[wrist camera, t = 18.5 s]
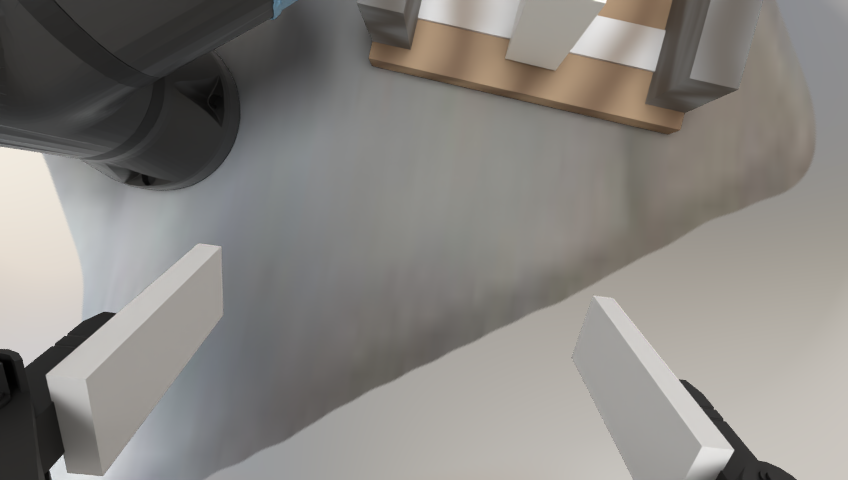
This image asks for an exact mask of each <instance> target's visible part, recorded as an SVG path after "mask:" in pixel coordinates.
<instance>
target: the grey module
mask: <svg viewBox="0 0 848 480" xmlns="http://www.w3.org/2000/svg"><path fill="white" fill-rule="evenodd" d="M606 1H607V0H520V3H519V6H518V10H517V14H516V18H515V22H514V26H513V29H512V33H511V37H510V41H509V45H508V48H507V52H506V56H505V59H509V60H513V61H517V62H521V63H526V64H530V65H534V66H538V67H542V68H546V69H550V70H554V71H556V69H557V68H558V67H559V65H560V64H561V63H562V61H563V60H564V59H565V57H566V56H567V55H568V53H569V52H570V51H571V49H572V48H573V47H574V45H575V44H576V43H577V41H578V40H579V39H580V37H581V36H582V35H583V33H584V32H585V31H586V29H587V28H588V27H589V25H590V24H591V23H592V21H593V20H594V19H595V17H596V16H597V15H598V13H599V12H600V11H601V9H602V8H603V7H604V5H605V4H606Z"/></svg>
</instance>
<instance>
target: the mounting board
mask: <svg viewBox="0 0 848 480" xmlns="http://www.w3.org/2000/svg"><path fill="white" fill-rule="evenodd" d="M519 3H520V0H357V4H358V7H359V9H360V12H361V14H362V17H363V19H364V22H365V24H366V27H367V29H368V32H369V34H370V36H371V39H372V45H371V50H370V54H369V60H370V62H371V64H372V66H375V67H379V68H384V69H388V70H392V71H397V72H401V73H405V74H410V75H414V76H418V77H423V78H427V79H431V80H436V81H440V82H444V83H449V84H453V85H457V86H462V87H466V88H470V89H475V90H479V91H483V92H488V93H492V94H496V95H501V96H505V97H509V98H514V99H518V100H522V101H527V102H531V103H535V104H539V105H544V106H548V107H552V108H557V109H561V110H565V111H570V112H574V113H578V114H583V115H587V116H591V117H596V118H600V119H604V120H609V121H613V122H617V123H622V124H626V125H630V126H635V127H639V128H643V129H648V130H652V131H656V132H661V133H665V134H671V133H673V132H676V131H679V130H680V129H681V125H682V121H683V118H684V114H685V113H686V112H688V111H690V110H693V109H695V108H697V107H699V106H702V105H704V104H706V103H708V102H711V101H713V100H715V99H718V98H720V97H722V96H724V95H727V94H729V93H731V92H734V91H736V90H738V89H739V86H740V82H741V79H742V75H743V72H744V68H745V64H746V61H747V57H748V54H749V50H750V46H751V43H752V39H753V36H754V32H755V28H756V25H757V21H758V18H759V14H760V11H761V7H762V3H763V0H607V1H606V4H605V5H604V7H603V8H602V9H601V11H600V12H599V13H598V15H597V16H596V17H595V19H594V20H593V21H592V23H591V24H590V25H589V27H588V28H587V29H586V31H585V32H584V33H583V35H582V36H581V37H580V39H579V40H578V41H577V43H576V44H575V45H574V47H573V48H572V49H571V51H570V52H569V53H568V55H567V56H566V57H565V59H564V60H563V61H562V63H561V64H560V65H559V67H558V68H557V69H556V71H554V70H550V69H546V68H542V67H538V66H534V65H530V64H526V63H521V62H517V61H513V60H509V59H505V56H506V52H507V48H508V45H509V41H510V37H511V33H512V29H513V26H514V22H515V18H516V14H517V10H518V6H519Z"/></svg>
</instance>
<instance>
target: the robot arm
mask: <svg viewBox="0 0 848 480" xmlns="http://www.w3.org/2000/svg"><path fill="white" fill-rule="evenodd" d="M296 1H297V0H0V146H1V147H8V148H14V149H21V150H28V151H34V152H40V153H46V154H52V155H59V156H65V157H72V158H78V159H80V160H82V161H84V162H85V163H87V164H89V165H90V166H92V167H94V168H95V169H97V170H99V171H100V172H102V173H104V174H105V175H107V176H109V177H110V178H112V179H114V180H116V181H118V182H121V183H124V184H126V185H130V186H133V187H138V188H145V189H154V190H174V189H180V188H184V187H187V186H190V185H193V184H195V183H197V182H199V181H201V180H203V179H204V178H206V177H207V176H208V175H210V174H211V173H212V172H213V171H214V170H216V169H217V168H218V166H219V165H220V164H221V163H222V162H223V161H224V159H225V158H226V156H227V155H228V153H229V151H230V150H231V148H232V145H233V143H234V141H235V138H236V135H237V131H238V126H239V118H240V105H239V97H238V92H237V89H236V85H235V83H234V80H233V78H232V75H231V74H230V72H229V70H228V68H227V67H226V65H225V64H224V62H223V61H222V60H221V58H220V57H219V56H218V55H217V54H216V53H215V52H214V51H213V50H214V49H216V48H217V47H219V46H221V45H223V44H225V43H226V42H228V41H230V40H232V39H234V38H235V37H237V36H239V35H241V34H243V33H244V32H246V31H248V30H250V29H252V28H253V27H255V26H257V25H259V24H261V23H262V22H264V21H266V20H268V19H270V20H274V19H276V18H277V16H279V15H280V14H281V11H282V10H283V9H285V8H286V7H288V6H290V5H291V4H293V3H294V2H296ZM222 316H223V286H222V248H221V246H215V245H207V244H200V243H198V244H197V245H196V246H195V247H193V248H192V249H191V250H190V251H189V252H188V253H187V254H185V255H184V256H183V257H182V258H181V259H180V260H178V261H177V262H176V263H175V264H174V265H173V266H171V267H170V268H169V269H168V270H167V271H166V272H164V273H163V274H162V275H161V276H160V277H159V278H158V279H156V280H155V281H154V282H153V283H152V284H151V285H149V286H148V287H147V288H146V289H145V290H144V291H142V292H141V293H140V294H139V295H138V296H137V297H135V298H134V299H133V300H132V301H131V302H130V303H129V304H127V305H126V306H125V307H124V308H123V309H122V310H120V311H119V312H118V313H110V312H102V313H100V314H98V315H96V316H94V317H92V318H89V319H87V320H85V321H83V322H82V323H80V324H79V325H78V326H77V327H75V328H74V329H73V330H72V331H70V332H69V333H68V335H67V336H64V337H63V338H62V339H61V340H59V341H58V342H57V343H55V346H54V347H53V346H52V347H50V348H49V349H48V350H47V351H45V352H44V353H43V354H42V355H40V356H39V357H38V358H37V359H35V360H34V361H33V362H32V363H30V364H29V365H28V366H27V367H25V368H24V364H23V360H22V358H21V356H20V355H19V353H17V352H14V351H11V350H9V349H0V480H52V479H51V475H50V471H49V469H50V468H51V467H52V466H53V465H54V464H55V463H56V462H57V460H58V459H59V458H60V457H61V456H62V455H64V459H65V464H66V468H67V473H76V474H86V475H97V476H103V475H104V474H105V473H106V471H107V470H108V469H109V467H110V466H111V465H112V463H113V462H114V461H115V459H116V458H117V457H118V455H119V454H120V453H121V451H122V450H123V449H124V447H125V446H126V445H127V443H128V442H129V441H130V439H131V438H132V437H133V435H134V434H135V433H136V431H137V430H138V429H139V427H140V426H141V425H142V423H143V422H144V421H145V419H146V418H147V416H148V415H149V414H150V412H151V411H152V410H153V408H154V407H155V406H156V404H157V403H158V402H159V400H160V399H161V398H162V396H163V395H164V394H165V392H166V391H167V390H168V388H169V387H170V386H171V384H172V383H173V382H174V380H175V379H176V378H177V376H178V375H179V374H180V372H181V371H182V370H183V368H184V367H185V366H186V364H187V363H188V362H189V360H190V359H191V358H192V356H193V355H194V354H195V352H196V351H197V350H198V348H199V347H200V345H201V344H202V343H203V341H204V340H205V339H206V337H207V336H208V335H209V333H210V332H211V331H212V329H213V328H214V327H215V325H216V324H217V323H218V321H219V320H220V319H221V317H222ZM572 359H573V361H574V363H575V365H576V367H577V369H578V371H579V373H580V375H581V377H582V379H583V381H584V383H585V385H586V387H587V389H588V391H589V393H590V395H591V397H592V399H593V401H594V403H595V405H596V407H597V409H598V411H599V413H600V415H601V416H602V419H603V420H604V423H605V425H606V427H607V429H608V431H609V432H610V434H611V437H612V438H613V440H614V442H615V444H616V446H617V448H618V450H619V452H620V454H621V456H622V458H623V460H624V462H625V464H626V466H627V468H628V470H629V472H630V474H631V476H632V478H633V480H796V479H795V478H794V477H793V476H792V475H790V474H788V473H787V472H785V471H784V470H782V469H781V468H779V467H776V466H774V465H772V464H769V463H767V462H762V461H758V460H757V458H756V457H755V456H754V455H753V454H752V452H751V451H749V449H748V448H747V447H746V445H745V444H744V443H743V442H742V440H741V439H740V438H739V437H738V436H737V435H736V433H735V432H734V431H733V430H732V428H731V427H730V426H729V425H728V424H727V422H725V421H723V418H722V416H721V415H720V414H719V413H718V412H717V411H716V410H714V407H713V406H712V405H711V403H710V402H709V401H708V400H707V399H706V397H705V396H704V395H703V394H702V393H701V392H700V391H699V390H697V389H696V388H695V387H693V386H692V385H691V384H690V383H688V382H687V381H686V380H680V379H679V380H678V379H677V377H676V376H675V375H674V374H673V372H672V371H671V370H670V368H669V367H668V366H667V365H666V364H665V362H664V361H663V360H662V358H660V356H659V355H658V353H657V352H656V351H655V350H654V348H653V347H652V346H651V345H650V343H649V342H648V341H647V340H646V338H645V337H644V336H643V335H642V333H641V332H640V331H639V330H638V328H637V327H636V326H635V325H634V323H633V322H632V321H631V320H630V318H629V317H628V316H627V315H626V313H625V312H624V311H623V310H622V308H621V307H620V306H619V305H618V303H617V302H616V301H615V300H614V298H609V297H601V296H593V297H592V300H591V303H590V306H589V308H588V311H587V314H586V317H585V320H584V323H583V326H582V329H581V332H580V334H579V337H578V340H577V343H576V346H575V349H574V352H573V355H572Z"/></svg>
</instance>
